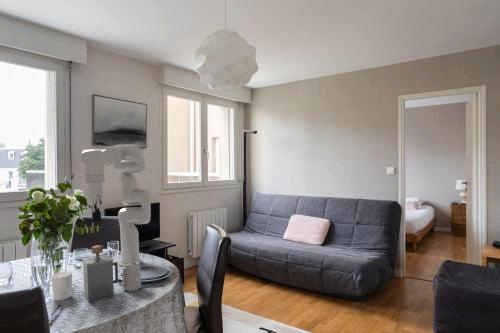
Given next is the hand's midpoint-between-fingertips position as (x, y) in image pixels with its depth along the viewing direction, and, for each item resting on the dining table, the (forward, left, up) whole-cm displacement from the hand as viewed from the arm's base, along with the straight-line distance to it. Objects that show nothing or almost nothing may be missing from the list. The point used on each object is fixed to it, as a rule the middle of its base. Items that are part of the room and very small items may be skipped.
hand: (96, 220), depth 144 cm
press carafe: (0, +1, -33) cm, 33 cm away
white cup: (-8, -13, -33) cm, 36 cm away
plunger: (0, 0, -26) cm, 26 cm away
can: (+2, +13, -33) cm, 35 cm away
